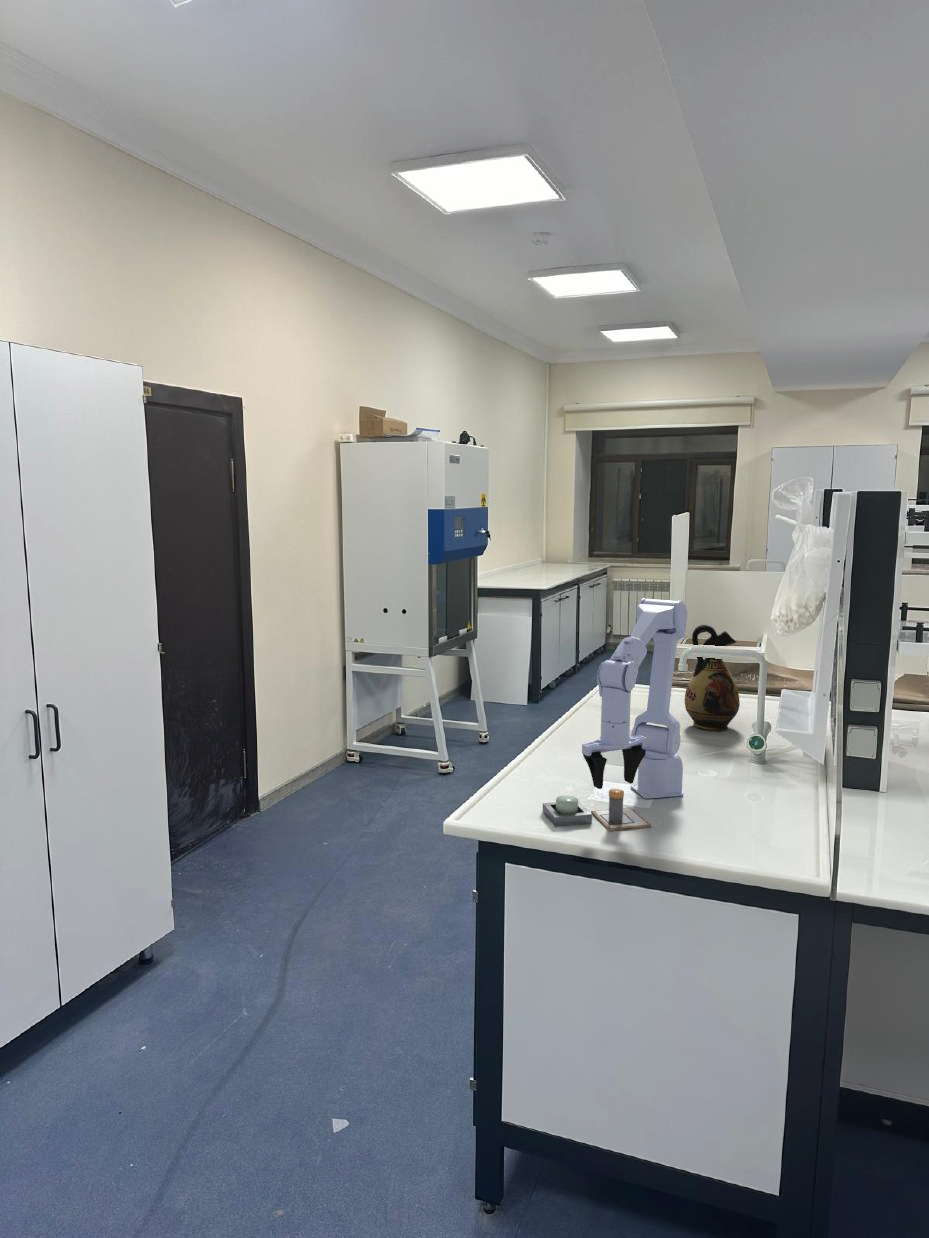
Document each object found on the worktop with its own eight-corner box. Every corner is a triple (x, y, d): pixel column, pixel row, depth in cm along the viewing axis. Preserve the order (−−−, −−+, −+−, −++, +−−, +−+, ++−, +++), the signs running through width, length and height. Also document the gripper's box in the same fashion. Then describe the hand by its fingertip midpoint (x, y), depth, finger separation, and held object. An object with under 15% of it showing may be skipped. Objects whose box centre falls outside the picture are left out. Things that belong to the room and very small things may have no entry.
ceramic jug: (736, 721, 245) (741, 623, 240) (740, 735, 230) (745, 631, 226) (677, 717, 249) (681, 620, 245) (678, 731, 234) (682, 628, 230)
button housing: (578, 809, 175) (578, 800, 175) (591, 823, 167) (592, 814, 167) (542, 812, 173) (542, 803, 173) (554, 826, 165) (555, 817, 165)
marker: (622, 819, 168) (622, 788, 167) (623, 824, 165) (624, 793, 164) (607, 818, 168) (608, 788, 167) (609, 824, 165) (609, 793, 164)
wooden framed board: (630, 809, 175) (630, 806, 175) (651, 827, 165) (651, 824, 165) (591, 812, 173) (591, 810, 173) (609, 831, 163) (609, 828, 163)
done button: (573, 806, 173) (573, 794, 172) (581, 814, 168) (581, 802, 168) (552, 808, 172) (553, 796, 171) (560, 816, 167) (560, 804, 167)
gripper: (632, 711, 170) (630, 773, 172) (574, 718, 164) (572, 783, 166) (654, 719, 164) (651, 784, 166) (594, 727, 158) (592, 794, 160)
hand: (613, 784), depth 166 cm, fingers open, 7 cm apart
